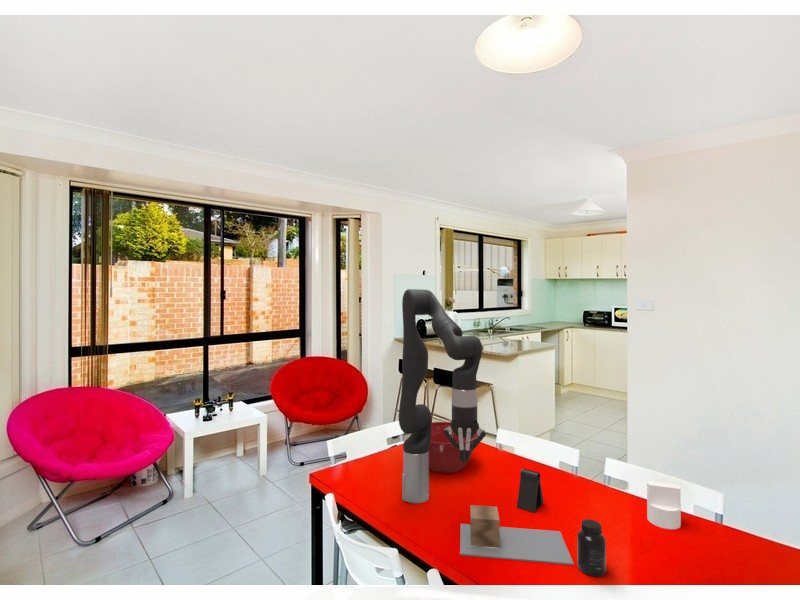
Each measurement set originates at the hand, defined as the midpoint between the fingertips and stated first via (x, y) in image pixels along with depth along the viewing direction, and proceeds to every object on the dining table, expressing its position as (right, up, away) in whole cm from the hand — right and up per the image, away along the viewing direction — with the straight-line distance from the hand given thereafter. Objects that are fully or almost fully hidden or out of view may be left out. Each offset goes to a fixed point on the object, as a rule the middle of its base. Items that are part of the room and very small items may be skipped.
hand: (464, 461), depth 124 cm
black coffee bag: (+26, -23, +21) cm, 40 cm away
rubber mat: (+14, -23, -2) cm, 27 cm away
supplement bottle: (+31, -23, -14) cm, 41 cm away
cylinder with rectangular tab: (+65, -23, +9) cm, 70 cm away
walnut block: (+6, -23, -1) cm, 23 cm away
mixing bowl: (0, -24, +54) cm, 59 cm away
